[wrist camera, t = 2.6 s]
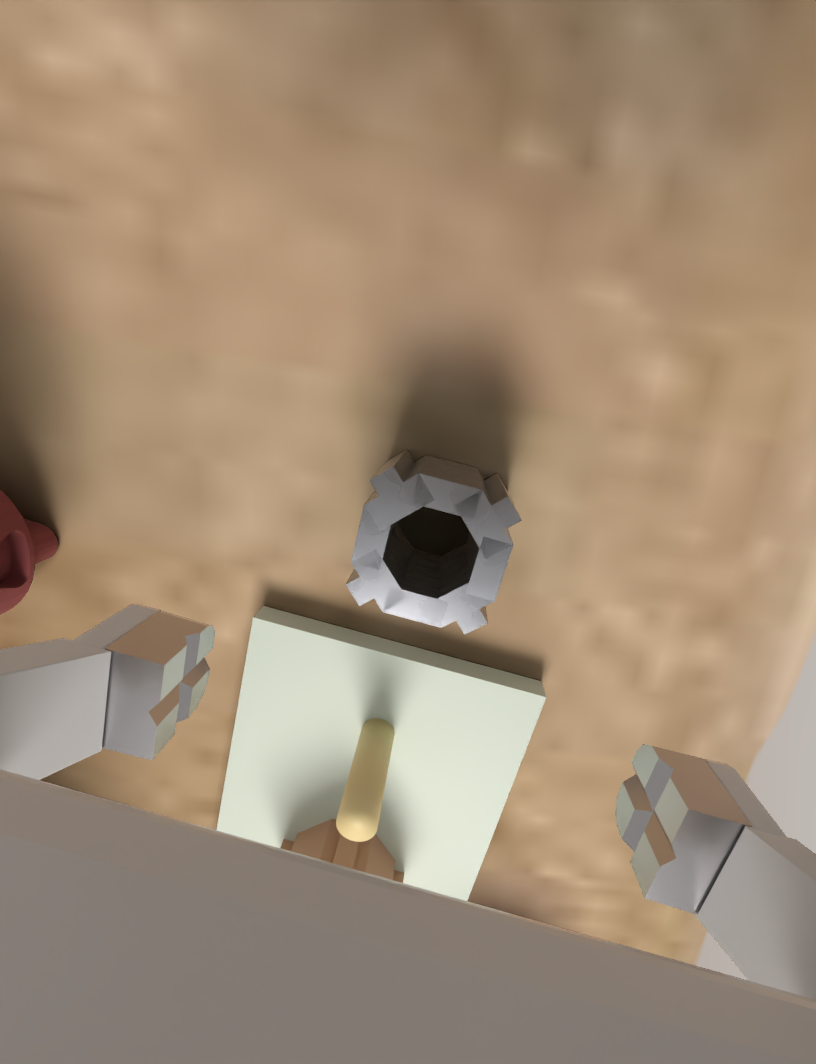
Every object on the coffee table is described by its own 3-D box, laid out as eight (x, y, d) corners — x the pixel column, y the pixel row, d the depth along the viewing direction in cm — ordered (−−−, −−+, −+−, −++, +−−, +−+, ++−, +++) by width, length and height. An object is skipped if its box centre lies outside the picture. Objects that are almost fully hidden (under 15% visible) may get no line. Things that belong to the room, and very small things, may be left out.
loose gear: (391, 445, 20) (373, 460, 16) (512, 477, 20) (527, 501, 16) (364, 558, 22) (341, 601, 17) (477, 588, 22) (482, 639, 17)
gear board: (263, 605, 23) (195, 683, 17) (541, 681, 23) (571, 786, 17) (217, 863, 28) (151, 995, 22) (447, 928, 27) (444, 1080, 21)
